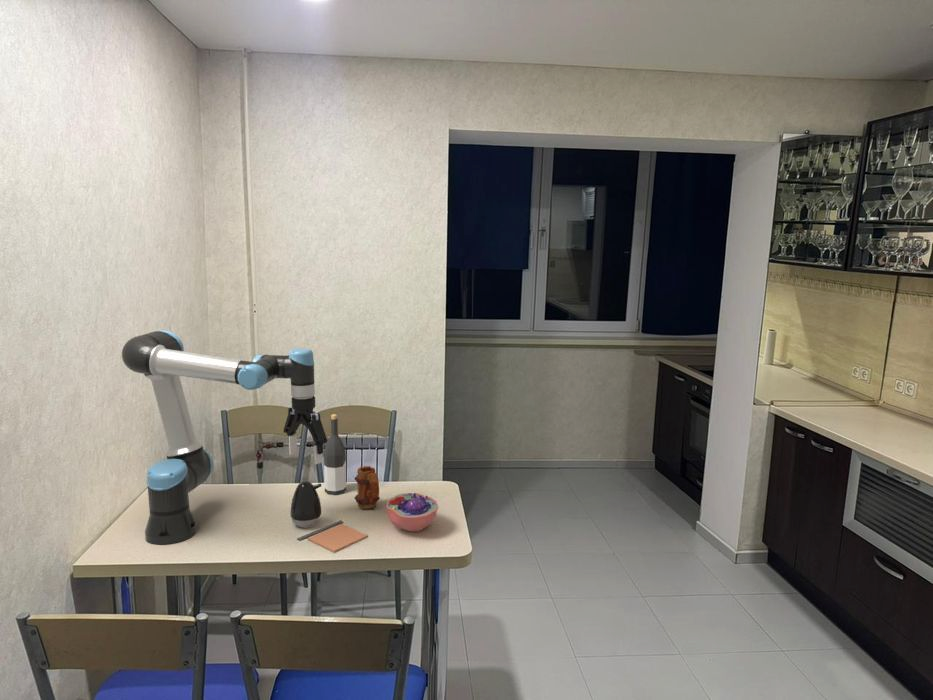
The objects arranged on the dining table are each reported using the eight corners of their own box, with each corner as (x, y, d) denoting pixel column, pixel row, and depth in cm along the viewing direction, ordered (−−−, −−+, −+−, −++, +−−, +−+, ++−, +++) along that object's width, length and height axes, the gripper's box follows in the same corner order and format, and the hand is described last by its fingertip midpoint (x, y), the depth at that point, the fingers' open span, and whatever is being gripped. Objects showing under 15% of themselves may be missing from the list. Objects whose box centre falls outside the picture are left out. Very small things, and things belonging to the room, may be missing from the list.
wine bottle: (324, 487, 252) (323, 412, 247) (346, 486, 254) (344, 411, 248) (324, 495, 244) (322, 418, 239) (346, 494, 246) (345, 417, 240)
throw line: (297, 539, 209) (296, 538, 209) (340, 521, 223) (340, 520, 223) (299, 541, 208) (299, 539, 208) (343, 522, 222) (343, 521, 222)
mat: (307, 540, 209) (307, 538, 209) (341, 525, 220) (341, 523, 220) (334, 552, 201) (334, 551, 201) (367, 537, 212) (367, 535, 212)
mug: (352, 503, 238) (351, 464, 235) (373, 500, 241) (373, 461, 239) (365, 519, 225) (364, 478, 222) (387, 515, 229) (387, 474, 226)
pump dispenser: (320, 530, 216) (318, 487, 213) (288, 531, 215) (286, 487, 212) (324, 517, 226) (323, 475, 223) (293, 517, 225) (292, 476, 222)
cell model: (428, 512, 232) (428, 481, 230) (443, 537, 213) (444, 504, 211) (381, 517, 227) (381, 486, 225) (392, 543, 208) (392, 510, 206)
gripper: (337, 400, 209) (339, 463, 212) (289, 388, 224) (292, 447, 228) (318, 405, 203) (320, 470, 207) (271, 392, 219) (274, 453, 222)
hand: (305, 458), depth 217 cm, fingers open, 13 cm apart
